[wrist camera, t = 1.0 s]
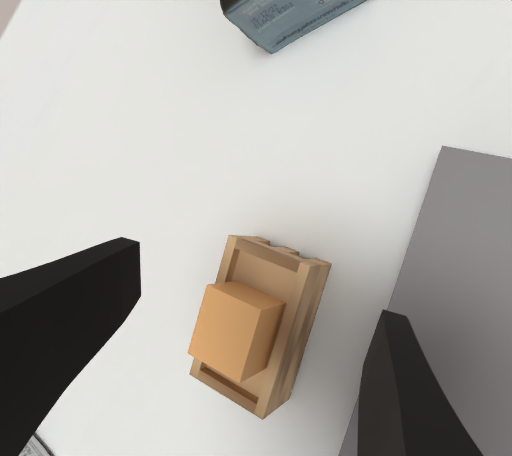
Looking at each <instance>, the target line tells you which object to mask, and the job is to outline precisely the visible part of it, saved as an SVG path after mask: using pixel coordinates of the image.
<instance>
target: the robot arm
mask: <svg viewBox="0 0 512 456" xmlns="http://www.w3.org/2000/svg"><path fill="white" fill-rule="evenodd" d="M140 297H141V276H140V242H137V241H134V240H130V239H127V238H123V237H120V238H117V239H113V240H110V241H107V242H105V243H102V244H99V245H96V246H94V247H91V248H88V249H85V250H83V251H80V252H77V253H75V254H72V255H69V256H66V257H64V258H61V259H58V260H56V261H53V262H50V263H47V264H44V265H41V266H38V267H35V268H32V269H29V270H26V271H23V272H20V273H17V274H13V275H10V276H7V277H3V278H0V456H19V455H20V453H21V452H22V450H23V449H24V447H25V446H26V444H27V443H28V441H29V440H30V439H31V437H32V436H33V434H34V433H35V431H36V430H37V428H38V427H39V425H40V424H41V422H42V421H43V420H44V418H45V417H46V415H47V414H48V413H49V411H50V410H51V408H52V407H53V406H54V404H55V403H56V402H57V400H58V399H59V397H60V396H61V395H62V393H63V392H64V391H65V390H66V388H67V387H68V386H69V385H70V383H71V382H72V381H73V380H74V379H75V377H76V376H77V375H78V374H79V373H80V372H81V371H82V369H83V368H84V367H85V366H86V365H87V364H88V363H89V362H90V360H91V359H92V358H93V357H94V356H95V355H96V354H97V353H98V351H99V350H100V349H101V348H102V347H103V346H104V345H105V343H106V342H107V341H108V340H109V339H110V338H111V337H112V335H113V334H114V333H115V332H116V331H117V330H118V328H119V327H120V326H121V325H122V324H123V322H124V321H125V320H126V318H127V317H128V315H129V314H130V312H131V311H132V309H133V308H134V306H135V305H136V303H137V301H138V300H139V298H140ZM357 456H483V454H482V453H481V451H480V450H479V448H478V447H477V445H476V444H475V443H474V441H473V440H472V438H471V437H470V435H469V434H468V432H467V431H466V429H465V427H464V426H463V424H462V423H461V421H460V419H459V418H458V416H457V414H456V413H455V411H454V409H453V408H452V406H451V404H450V403H449V401H448V399H447V397H446V396H445V394H444V392H443V390H442V388H441V386H440V385H439V383H438V381H437V379H436V377H435V375H434V373H433V371H432V369H431V367H430V365H429V363H428V361H427V359H426V357H425V355H424V353H423V351H422V349H421V346H420V344H419V342H418V340H417V338H416V335H415V333H414V331H413V328H412V326H411V324H410V321H409V319H408V318H407V316H405V315H401V314H398V313H394V312H390V311H387V310H382V313H381V316H380V319H379V321H378V324H377V327H376V330H375V333H374V336H373V338H372V341H371V344H370V347H369V350H368V353H367V355H366V358H365V361H364V364H363V371H362V378H361V385H360V392H359V402H358V443H357Z"/></svg>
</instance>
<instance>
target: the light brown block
mask: <svg viewBox="0 0 512 456" xmlns="http://www.w3.org/2000/svg"><path fill="white" fill-rule="evenodd" d="M285 305H286V303H285V302H283V301H281V300H278V299H276V298H274V297H271V296H269V295H267V294H265V293H262V292H260V291H258V290H256V289H253V288H251V287H249V286H246V285H244V284H242V283H240V282H237V281H232V282H224V283H216V284H209V285H207V286H206V290H205V293H204V297H203V300H202V304H201V307H200V311H199V315H198V318H197V322H196V325H195V329H194V332H193V336H192V339H191V343H190V346H189V350H188V354H190V355H192V356H193V357H195V358H197V359H198V360H200V361H202V362H204V363H205V364H207V365H209V366H210V367H212V368H214V369H215V370H217V371H219V372H221V373H222V374H224V375H226V376H227V377H229V378H231V379H233V380H234V381H236V382H238V383H241V382H243V381H244V380H246V379H248V378H250V377H252V376H253V375H255V374H257V373H259V372H261V371H262V370H264V369H266V368H267V365H268V361H269V358H270V355H271V351H272V348H273V345H274V342H275V338H276V335H277V332H278V328H279V325H280V322H281V319H282V315H283V312H284V309H285Z"/></svg>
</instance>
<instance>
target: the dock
mask: <svg viewBox="0 0 512 456" xmlns="http://www.w3.org/2000/svg"><path fill="white" fill-rule="evenodd" d="M387 311H390V312H394V313H398V314H401V315H405V316H407V318H408V319H409V321H410V324H411V326H412V328H413V331H414V333H415V335H416V338H417V340H418V342H419V344H420V346H421V349H422V351H423V353H424V355H425V357H426V359H427V361H428V363H429V365H430V367H431V369H432V371H433V373H434V375H435V377H436V379H437V381H438V383H439V385H440V386H441V388H442V390H443V392H444V394H445V396H446V397H447V399H448V401H449V403H450V404H451V406H452V408H453V409H454V411H455V413H456V414H457V416H458V418H459V419H460V421H461V423H462V424H463V426H464V427H465V429H466V431H467V432H468V434H469V435H470V437H471V438H472V440H473V441H474V443H475V444H476V445H477V447H478V448H479V450H480V451H481V453H482V454H483V456H512V159H510V158H505V157H500V156H494V155H489V154H484V153H478V152H473V151H468V150H462V149H457V148H452V147H446V146H442V148H441V151H440V154H439V157H438V160H437V163H436V166H435V169H434V172H433V175H432V178H431V181H430V184H429V187H428V190H427V193H426V196H425V199H424V202H423V204H422V207H421V210H420V213H419V216H418V219H417V222H416V225H415V228H414V231H413V234H412V237H411V240H410V243H409V246H408V249H407V252H406V255H405V258H404V261H403V264H402V267H401V270H400V273H399V276H398V279H397V282H396V285H395V288H394V291H393V294H392V297H391V300H390V303H389V306H388V309H387ZM358 402H359V396H358V399H357V402H356V405H355V408H354V411H353V414H352V417H351V420H350V423H349V426H348V429H347V432H346V435H345V438H344V441H343V444H342V447H341V450H340V453H339V456H357V443H358Z"/></svg>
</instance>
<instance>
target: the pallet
mask: <svg viewBox="0 0 512 456" xmlns="http://www.w3.org/2000/svg"><path fill="white" fill-rule="evenodd" d="M269 243H270V241H268V240H265V239H262V238H260V237H254V236H235V235H229V236H228V240H227V243H226V247H225V250H224V254H223V258H222V261H221V265H220V268H219V272H218V275H217V279H216V282H215V284H216V283H224V282H232V281H237V282H240V283H242V284H244V285H246V286H249V287H251V288H253V289H256V290H258V291H260V292H262V293H265V294H267V295H269V296H271V297H274V298H276V299H278V300H281V301H283V302H285V303H286V305H285V309H284V312H283V315H282V319H281V322H280V325H279V328H278V332H277V335H276V338H275V342H274V345H273V348H272V351H271V355H270V358H269V361H268V365H267V368H266V369H264V370H262V371H261V372H259V373H257V374H255V375H253V376H252V377H250V378H248V379H246V380H244V381H243V382H241V383H238V382H236V381H234V380H233V379H231V378H229V377H227V376H226V375H224V374H222V373H221V372H219V371H217V370H215V369H214V368H212V367H210V366H209V365H207V364H205V363H204V362H202V361H200V360H198V359H197V358H195V357H194V360H193V363H192V367H191V370H190V375H191V376H193V377H195V378H196V379H198V380H199V381H201V382H203V383H204V384H206V385H208V386H209V387H211V388H212V389H214V390H216V391H217V392H219V393H220V394H222V395H224V396H225V397H227V398H229V399H230V400H232V401H233V402H235V403H237V404H238V405H240V406H242V407H243V408H245V409H246V410H248V411H250V412H251V413H253V414H254V415H256V416H258V417H259V418H261V419H264V418H266V417H267V416H268V415H269V414H271V413H272V412H273V411H274V410H276V409H277V408H278V407H279V406H281V405H282V404H283V403H285V402H286V401H287V400H288V399H289V397H290V394H291V391H292V388H293V384H294V381H295V378H296V375H297V372H298V369H299V365H300V362H301V359H302V356H303V353H304V350H305V346H306V343H307V340H308V337H309V334H310V330H311V327H312V324H313V321H314V318H315V315H316V311H317V308H318V305H319V302H320V299H321V295H322V292H323V289H324V286H325V283H326V280H327V276H328V273H329V270H330V267H331V263H328V262H325V261H323V260H320V259H317V258H313V259H304V258H301V257H299V256H298V255H299V252H298V251H295V250H293V249H290V248H287V247H272V246H269Z"/></svg>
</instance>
